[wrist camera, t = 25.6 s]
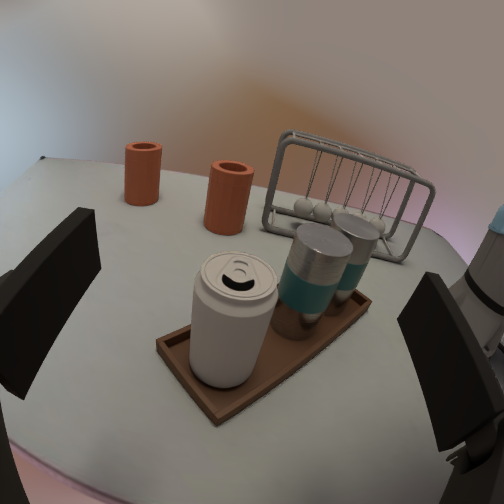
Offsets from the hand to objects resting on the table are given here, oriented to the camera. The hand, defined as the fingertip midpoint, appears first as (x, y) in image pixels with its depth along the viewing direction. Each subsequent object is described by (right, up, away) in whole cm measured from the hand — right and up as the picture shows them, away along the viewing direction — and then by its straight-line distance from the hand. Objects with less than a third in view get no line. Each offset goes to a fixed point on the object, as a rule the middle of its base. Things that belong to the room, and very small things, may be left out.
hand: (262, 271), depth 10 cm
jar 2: (-5, +5, +41) cm, 42 cm away
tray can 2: (+10, -6, +29) cm, 31 cm away
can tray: (+3, -9, +23) cm, 25 cm away
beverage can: (-4, -11, +17) cm, 21 cm away
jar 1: (-23, +11, +44) cm, 51 cm away
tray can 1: (+5, -8, +24) cm, 26 cm away
